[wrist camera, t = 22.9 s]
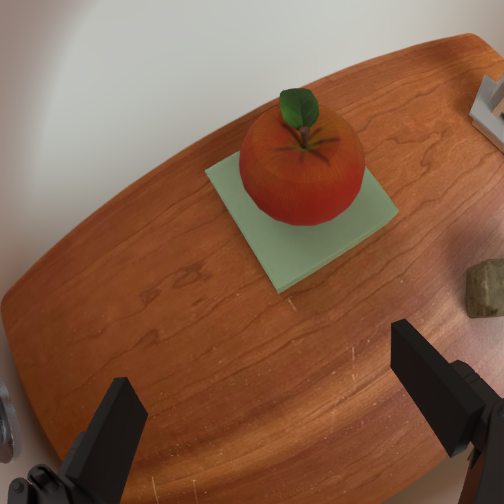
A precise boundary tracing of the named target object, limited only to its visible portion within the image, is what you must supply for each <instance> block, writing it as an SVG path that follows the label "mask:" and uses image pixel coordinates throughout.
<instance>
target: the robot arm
mask: <svg viewBox="0 0 504 504" xmlns="http://www.w3.org/2000/svg"><path fill="white" fill-rule="evenodd" d="M390 367H391V369H392V370H393V371H394V373H395V374H396V376H397V377H398V379H399V380H400V382H401V383H402V384H403V386H404V387H405V389H406V390H407V392H408V393H409V395H410V396H411V398H412V399H413V401H414V402H415V404H416V405H417V407H418V408H419V410H420V411H421V413H422V414H423V416H424V417H425V419H426V420H427V422H428V423H429V425H430V426H431V428H432V430H433V431H434V433H435V434H436V436H437V437H438V439H439V441H440V442H441V444H442V445H443V447H444V448H445V450H446V452H447V453H448V455H449V456H450V458H452V457H454V456H455V455H457V454H459V453H461V452H462V451H464V450H466V448H467V446H468V444H469V442H470V441H471V442H472V444H473V445H474V448H473V450H472V451H471V453H470V455H469V457H468V459H467V460H470V464H469V467H468V472H467V475H466V479H465V483H464V486H463V490H462V492H461V496H460V499H459V502H458V504H504V398H501V397H500V396H499V395H498V394H497V393H496V392H495V391H494V390H493V389H492V388H491V387H490V386H489V385H488V384H487V383H486V382H485V381H484V380H483V379H482V378H480V376H479V375H478V374H477V373H475V371H474V370H473V369H472V368H471V367H470V366H469V365H468V364H467V363H464V362H462V361H460V360H456V361H454V362H452V363H450V364H449V363H448V362H447V361H446V360H445V359H444V358H443V356H442V355H441V354H440V353H439V352H438V351H437V350H436V349H435V348H434V347H433V346H432V345H431V344H430V343H429V342H428V341H427V340H426V339H425V338H424V337H423V336H422V335H421V334H420V333H419V332H418V331H417V330H416V329H415V328H414V327H413V326H412V325H411V324H410V323H409V322H408V321H407V320H406V319H402V320H399V321H396V322H393V323H391V365H390ZM147 417H148V413H147V412H146V410H145V408H144V407H143V405H142V403H141V402H140V400H139V398H138V396H137V395H136V393H135V391H134V389H133V388H132V386H131V384H130V382H129V380H128V378H127V377H121V378H114V380H113V382H112V384H111V385H110V387H109V389H108V391H107V393H106V394H105V396H104V398H103V400H102V402H101V404H100V405H99V407H98V409H97V411H96V413H95V415H94V417H93V419H92V420H91V422H90V424H89V426H88V428H87V430H86V432H81V433H80V434H79V435H78V436H77V437H76V438H75V440H74V442H73V444H72V446H71V448H70V450H69V452H68V454H67V455H66V457H65V459H64V461H63V463H62V465H61V467H60V469H59V471H58V473H57V475H56V474H55V473H54V472H53V471H52V470H51V469H50V468H49V467H48V466H46V465H44V464H39V465H36V466H34V467H33V468H32V469H31V470H30V471H29V473H28V478H27V479H28V480H29V481H30V482H31V483H32V484H33V485H31V484H30V483H29V482H28V481H27V480H25V479H24V478H16V479H14V480H13V481H12V482H11V484H10V486H9V492H8V503H7V504H95V503H96V504H120V500H121V497H122V494H123V490H124V487H125V484H126V481H127V477H128V474H129V471H130V468H131V465H132V462H133V459H134V456H135V452H136V449H137V446H138V443H139V440H140V437H141V434H142V431H143V429H144V426H145V423H146V420H147ZM1 440H2V431H1V425H0V443H1ZM470 458H471V459H470Z"/></svg>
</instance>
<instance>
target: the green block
mask: <svg viewBox="0 0 504 504" xmlns="http://www.w3.org/2000/svg"><path fill="white" fill-rule="evenodd" d="M239 155H240V151H238V152H236V153H234V154H232V155H231V156H229V157H227V158H225V159H224V160H222V161H220V162H218V163H217V164H215V165H213V166H212V167H210V168H208V169H207V170H205V173H206V174H207V176H208V178H209V179H210V181H211V183H212V184H213V186H214V188H215V189H216V191H217V193H218V194H219V196H220V198H221V199H222V201H223V203H224V204H225V206H226V208H227V209H228V211H229V213H230V214H231V216H232V218H233V219H234V221H235V223H236V224H237V226H238V228H239V229H240V231H241V232H242V234H243V236H244V237H245V239H246V241H247V242H248V244H249V246H250V247H251V249H252V251H253V252H254V254H255V256H256V257H257V259H258V261H259V262H260V264H261V266H262V267H263V269H264V271H265V272H266V274H267V276H268V277H269V279H270V281H271V282H272V284H273V285H274V287H275V289H276V290H277V292H278V293H281V292H283V291H284V290H286V289H288V288H289V287H291V286H293V285H294V284H296V283H298V282H299V281H301V280H302V279H304V278H306V277H307V276H309V275H310V274H312V273H314V272H315V271H317V270H318V269H320V268H322V267H323V266H325V265H326V264H328V263H329V262H331V261H333V260H334V259H336V258H337V257H339V256H340V255H342V254H343V253H345V252H346V251H348V250H350V249H351V248H353V247H354V246H356V245H357V244H359V243H360V242H362V241H363V240H365V239H366V238H368V237H369V236H371V235H372V234H374V233H375V232H377V231H378V230H380V229H381V228H383V227H384V226H386V225H387V224H388V223H389V222H390V221H391V220H392V218H393V217H394V216H395V215H396V214H397V213H398V212H399V210H398V209H397V207H396V206H395V205H394V203H393V202H392V200H391V199H390V198H389V196H388V195H387V194H386V192H385V191H384V189H383V188H382V187H381V185H380V184H379V183H378V182H377V180H376V179H375V178H374V176H373V175H372V174H371V172H370V171H369V170H368V169H367V167H366V166H365V171H364V176H363V181H362V185H361V189H360V192H359V193H358V195H357V196H356V198H355V199H354V201H353V202H352V204H351V205H350V206H349V207H348V208H347V209H346V210H345V211H344V212H342V213H341V214H339V215H338V216H337V217H335V218H334V219H333V220H331V221H328V222H324V223H321V224H318V225H315V226H293V225H290V224H287V223H283V222H280V221H277V220H274V219H273V218H272V217H270V216H269V215H267V214H266V213H264V212H263V211H262V210H260V209H259V208H258V207H257V205H256V204H255V203H254V201H253V200H252V199H251V197H250V196H249V194H248V193H247V192H246V190H245V189H244V186H243V182H242V179H241V176H240V172H239Z"/></svg>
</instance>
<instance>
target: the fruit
mask: <svg viewBox="0 0 504 504" xmlns="http://www.w3.org/2000/svg"><path fill="white" fill-rule="evenodd" d="M279 105H280V106H276V107H274V108H272V109H270V110H268V111H267V112H265V113H263V114H261V115H260V116H259V117H258V118H257V120H256V121H255V122H254V123H253V124H252V125H251V126H250V128H249V130H248V132H247V134H246V136H245V138H244V140H243V142H242V145H241V147H240V155H239V172H240V176H241V179H242V182H243V186H244V189H245V190H246V192H247V193H248V194H249V196H250V197H251V199H252V200H253V201H254V203H255V204H256V205H257V207H258V208H259V209H260V210H262V211H263V212H264V213H266V214H267V215H269V216H270V217H272V218H273V219H274V220H277V221H280V222H283V223H287V224H290V225H293V226H315V225H318V224H321V223H324V222H328V221H331V220H333V219H334V218H335V217H337V216H338V215H339V214H341V213H342V212H344V211H345V210H346V209H347V208H348V207H349V206H350V205H351V204H352V202H353V201H354V199H355V198H356V196H357V195H358V193H359V192H360V189H361V185H362V181H363V176H364V171H365V159H364V152H363V148H362V145H361V142H360V140H359V138H358V136H357V134H356V133H355V131H354V129H353V127H352V126H351V125H350V124H349V123H348V122H347V121H346V120H345V119H344V118H343V117H342V116H341V115H339V114H338V113H336V112H334V111H332V110H331V109H329V108H327V107H325V106H323V105H318V101H317V99H316V98H315V96H314V95H313V93H312V92H311V90H308V89H305V88H294V89H288V90H284V91H282V92H281V93H280V104H279Z"/></svg>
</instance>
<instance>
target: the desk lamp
mask: <svg viewBox="0 0 504 504" xmlns="http://www.w3.org/2000/svg"><path fill="white" fill-rule="evenodd" d="M469 115H470V116H471V117H472V118H473V122H472V125H473V126H474V127H475V128H477V129H478V130H479V131H480V132H481V133H482V134H483V135H485V136H486V137H487V138H488V139H489V140H490V141H491V142H492V143H493V144H494V145H495V146H496V147H497V148H499V149H500V150H501V151H502V152H503V153H504V74H503V75H502V77H501V78H500V80H499V81H498V83H496V82H494V81H493V80H492V79H491V78H490V77H488V76H487V75H486V74H485V75H484V78H483V80H482V83H481V86H480V88H479V91H478V93H477V96H476V98H475V101H474V103H473V105H472V108H471V110H470V113H469Z"/></svg>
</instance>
